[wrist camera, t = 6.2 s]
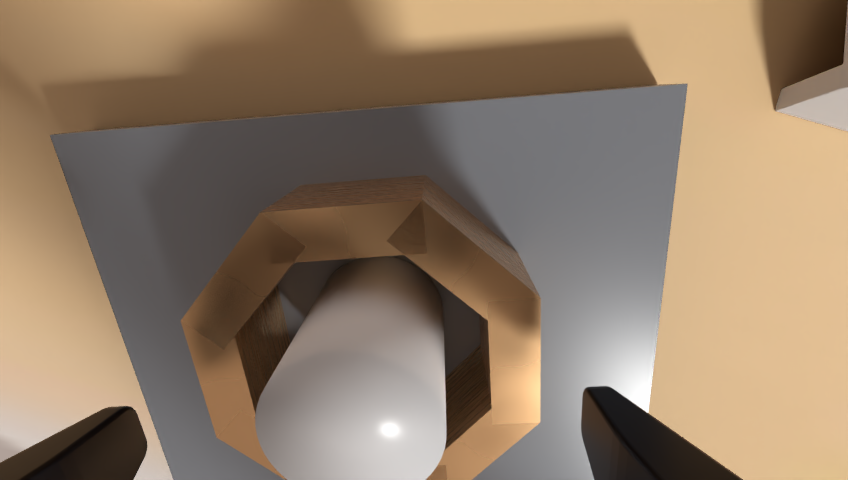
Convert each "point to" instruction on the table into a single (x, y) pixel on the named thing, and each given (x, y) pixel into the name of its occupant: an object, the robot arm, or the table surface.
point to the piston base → (473, 154)
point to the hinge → (820, 96)
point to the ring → (361, 238)
